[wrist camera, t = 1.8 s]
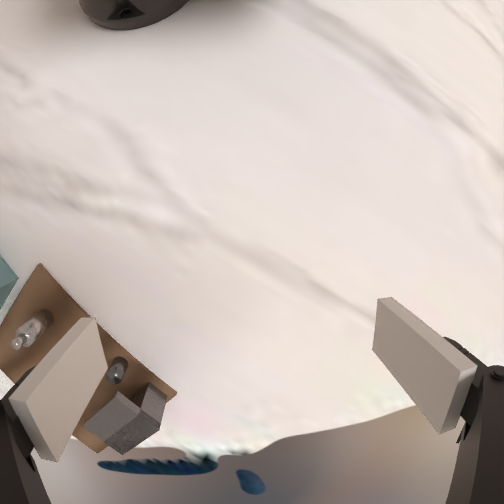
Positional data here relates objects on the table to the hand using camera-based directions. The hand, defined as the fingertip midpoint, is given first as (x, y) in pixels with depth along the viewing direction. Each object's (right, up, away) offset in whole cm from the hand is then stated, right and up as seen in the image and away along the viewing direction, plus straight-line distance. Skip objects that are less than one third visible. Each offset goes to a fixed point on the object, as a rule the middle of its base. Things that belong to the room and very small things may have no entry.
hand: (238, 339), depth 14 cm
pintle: (-26, -4, +21) cm, 34 cm away
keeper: (-16, -14, +24) cm, 32 cm away
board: (-25, -13, +23) cm, 36 cm away
